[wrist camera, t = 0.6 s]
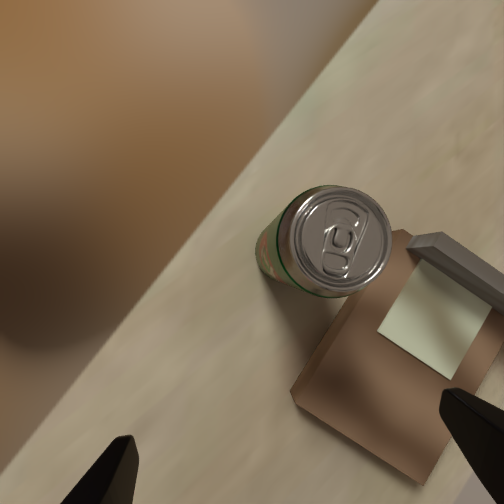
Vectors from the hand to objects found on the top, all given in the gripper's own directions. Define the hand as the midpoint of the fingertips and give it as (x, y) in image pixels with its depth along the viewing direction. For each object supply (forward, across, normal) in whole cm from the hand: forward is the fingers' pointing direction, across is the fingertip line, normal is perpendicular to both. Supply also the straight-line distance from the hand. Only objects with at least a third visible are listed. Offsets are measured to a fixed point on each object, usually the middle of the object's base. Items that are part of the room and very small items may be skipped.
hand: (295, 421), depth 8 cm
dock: (+12, -12, +9) cm, 19 cm away
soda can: (+16, -3, 0) cm, 16 cm away
